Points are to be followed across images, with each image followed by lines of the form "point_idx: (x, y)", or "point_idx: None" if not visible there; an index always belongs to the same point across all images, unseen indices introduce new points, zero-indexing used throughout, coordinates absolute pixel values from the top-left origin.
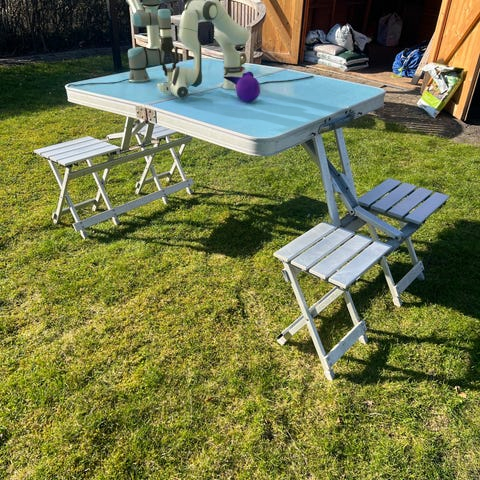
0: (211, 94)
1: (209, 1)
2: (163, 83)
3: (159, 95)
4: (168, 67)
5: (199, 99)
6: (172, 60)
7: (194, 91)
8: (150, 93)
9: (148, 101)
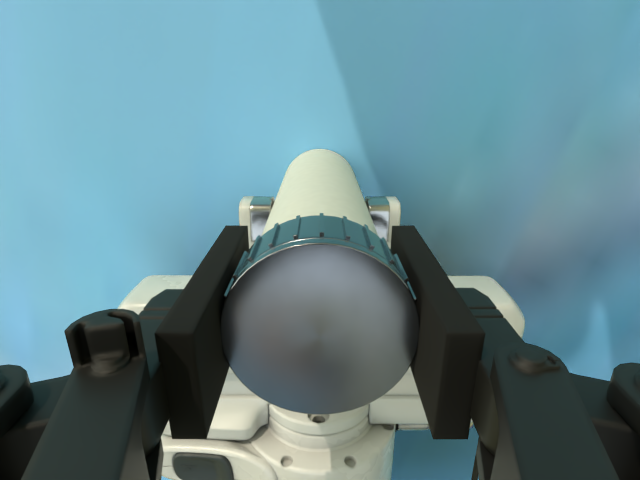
0: (635, 362)
1: None
2: (167, 476)
3: (186, 190)
4: (319, 262)
5: (463, 460)
6: (503, 474)
7: (577, 177)
8: (94, 36)
9: (69, 364)
